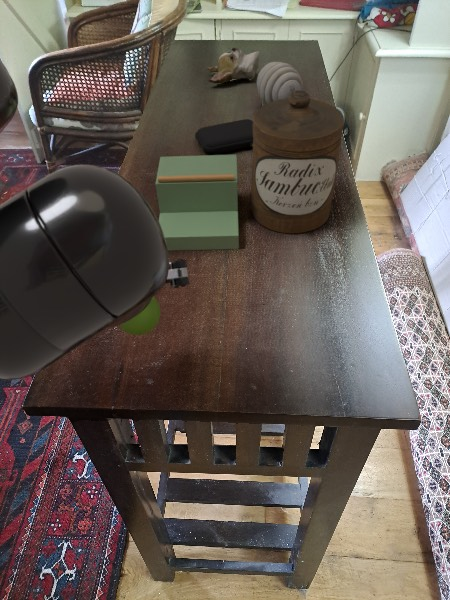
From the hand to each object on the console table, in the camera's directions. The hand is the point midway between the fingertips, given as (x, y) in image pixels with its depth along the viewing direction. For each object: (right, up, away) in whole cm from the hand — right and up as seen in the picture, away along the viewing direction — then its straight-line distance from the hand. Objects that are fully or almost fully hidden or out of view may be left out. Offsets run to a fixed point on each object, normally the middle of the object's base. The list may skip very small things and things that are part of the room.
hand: (128, 283), depth 54 cm
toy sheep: (+25, +46, +62) cm, 81 cm away
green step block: (+7, +12, +30) cm, 33 cm away
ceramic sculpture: (+14, +60, +76) cm, 97 cm away
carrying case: (+13, +34, +51) cm, 62 cm away
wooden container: (+24, +15, +33) cm, 43 cm away
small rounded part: (0, -6, +3) cm, 7 cm away
